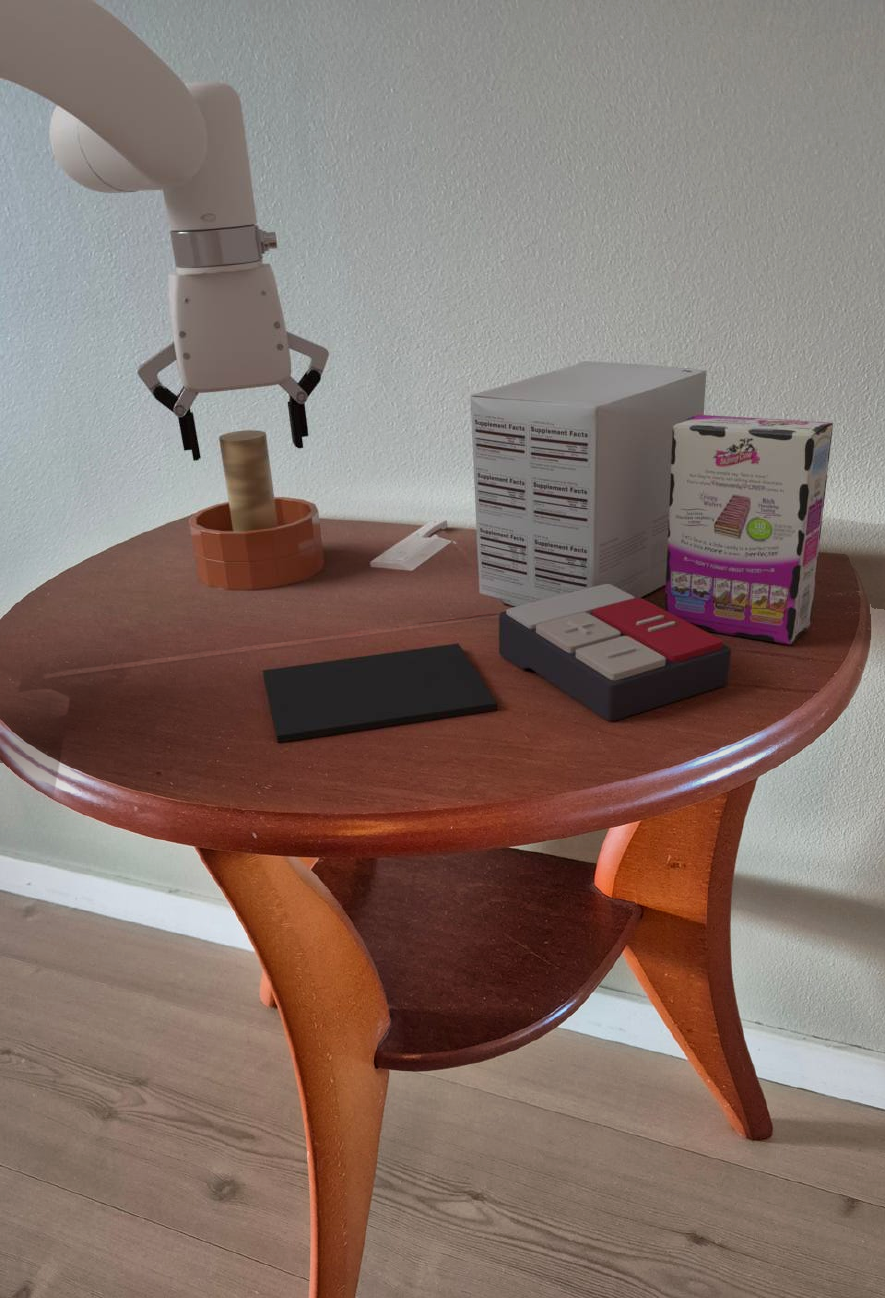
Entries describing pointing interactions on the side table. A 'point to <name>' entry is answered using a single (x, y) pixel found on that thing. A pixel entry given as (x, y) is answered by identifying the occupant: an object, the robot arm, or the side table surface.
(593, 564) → the supplement box
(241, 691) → the side table surface
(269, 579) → the crock
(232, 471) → the pestle
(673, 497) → the candy bar box
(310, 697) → the mat
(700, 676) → the calculator
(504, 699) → the side table surface
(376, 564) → the butcher knife
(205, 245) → the robot arm
